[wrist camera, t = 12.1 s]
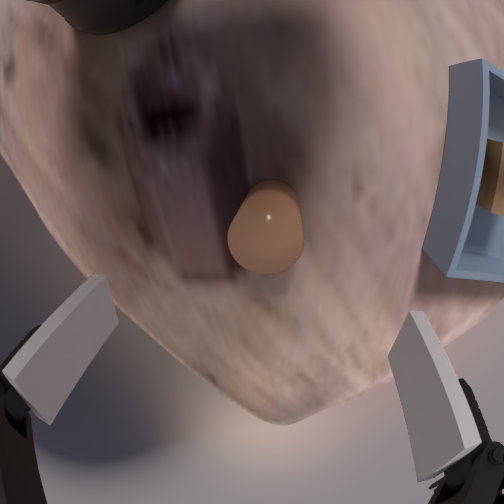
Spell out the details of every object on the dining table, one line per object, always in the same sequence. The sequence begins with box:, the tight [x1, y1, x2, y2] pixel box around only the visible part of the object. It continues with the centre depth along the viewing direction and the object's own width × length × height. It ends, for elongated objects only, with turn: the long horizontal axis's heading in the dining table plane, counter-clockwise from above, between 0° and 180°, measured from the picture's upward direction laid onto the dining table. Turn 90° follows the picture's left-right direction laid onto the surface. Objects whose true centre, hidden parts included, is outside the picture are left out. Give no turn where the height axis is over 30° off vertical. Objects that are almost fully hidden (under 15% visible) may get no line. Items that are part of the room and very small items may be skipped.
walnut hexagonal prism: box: [476, 139, 504, 216], centre depth 17 cm, size 6×6×6 cm
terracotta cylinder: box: [227, 180, 304, 275], centre depth 22 cm, size 5×5×8 cm
